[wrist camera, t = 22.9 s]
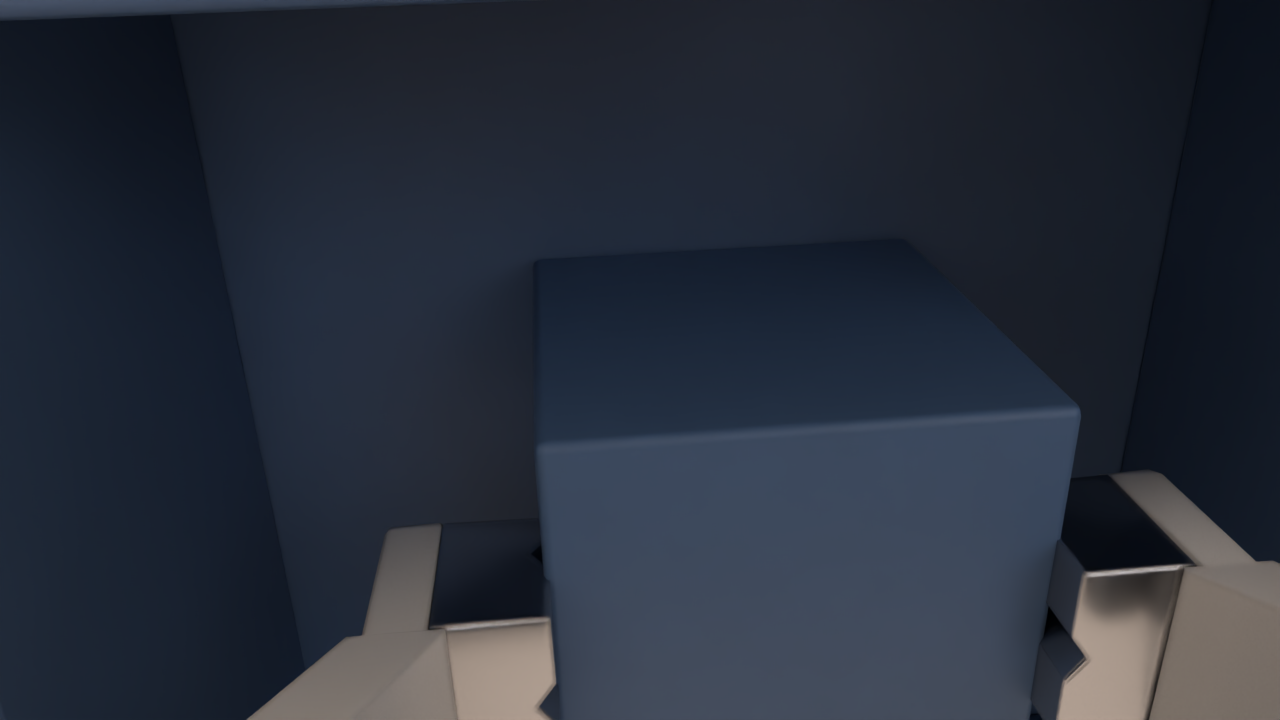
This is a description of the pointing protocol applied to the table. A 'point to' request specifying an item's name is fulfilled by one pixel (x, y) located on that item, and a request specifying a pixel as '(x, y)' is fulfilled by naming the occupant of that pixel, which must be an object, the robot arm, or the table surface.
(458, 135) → the blue bin
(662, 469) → the blue block
